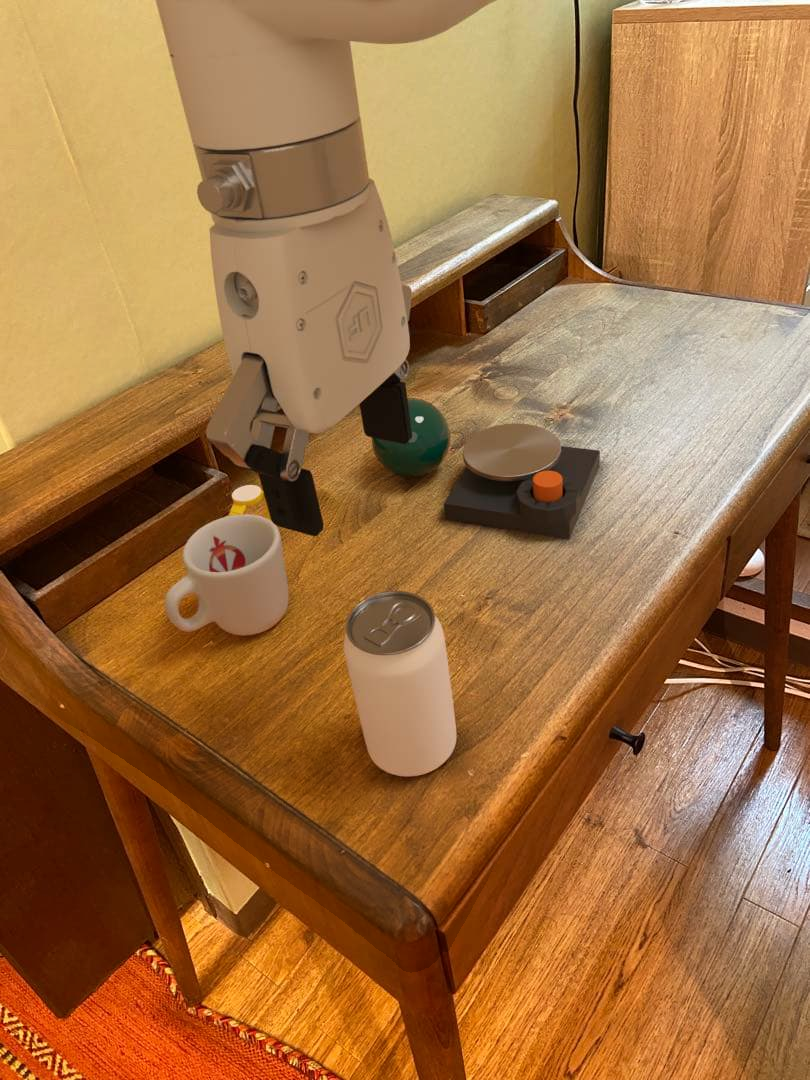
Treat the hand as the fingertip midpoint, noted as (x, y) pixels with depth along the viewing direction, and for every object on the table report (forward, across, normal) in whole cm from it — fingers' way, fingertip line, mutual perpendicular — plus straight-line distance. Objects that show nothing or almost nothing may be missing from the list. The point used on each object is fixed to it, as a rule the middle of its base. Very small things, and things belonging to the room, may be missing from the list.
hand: (346, 480), depth 48 cm
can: (+21, -2, -3) cm, 21 cm away
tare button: (+18, +25, -2) cm, 31 cm away
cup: (+21, +3, +17) cm, 27 cm away
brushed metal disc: (+17, +30, +4) cm, 35 cm away
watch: (+21, +12, +22) cm, 33 cm away
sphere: (+21, +28, +14) cm, 38 cm away
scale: (+21, +29, +2) cm, 35 cm away
